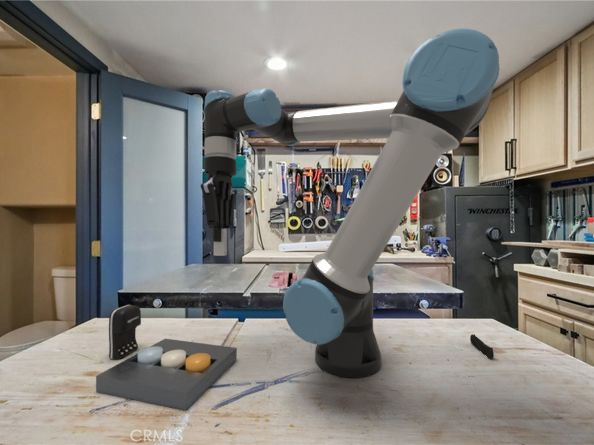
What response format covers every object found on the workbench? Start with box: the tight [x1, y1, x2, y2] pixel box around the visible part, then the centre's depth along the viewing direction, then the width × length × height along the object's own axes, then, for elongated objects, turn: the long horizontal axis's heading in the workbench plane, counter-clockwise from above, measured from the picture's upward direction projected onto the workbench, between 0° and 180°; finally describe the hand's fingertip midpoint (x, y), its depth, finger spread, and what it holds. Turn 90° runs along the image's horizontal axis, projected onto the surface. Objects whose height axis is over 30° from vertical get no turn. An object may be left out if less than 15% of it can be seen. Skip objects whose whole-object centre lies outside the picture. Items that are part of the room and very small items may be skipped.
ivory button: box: [161, 350, 186, 369], centre depth 58 cm, size 5×5×3 cm
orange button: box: [186, 353, 210, 373], centre depth 57 cm, size 5×5×3 cm
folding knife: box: [469, 333, 495, 360], centre depth 69 cm, size 10×1×3 cm, turn 172°
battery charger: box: [108, 304, 142, 360], centre depth 68 cm, size 7×4×11 cm, turn 171°
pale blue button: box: [137, 346, 163, 365], centre depth 60 cm, size 5×5×3 cm
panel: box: [95, 338, 238, 411], centre depth 58 cm, size 20×18×3 cm
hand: (220, 255), depth 67 cm, fingers closed
